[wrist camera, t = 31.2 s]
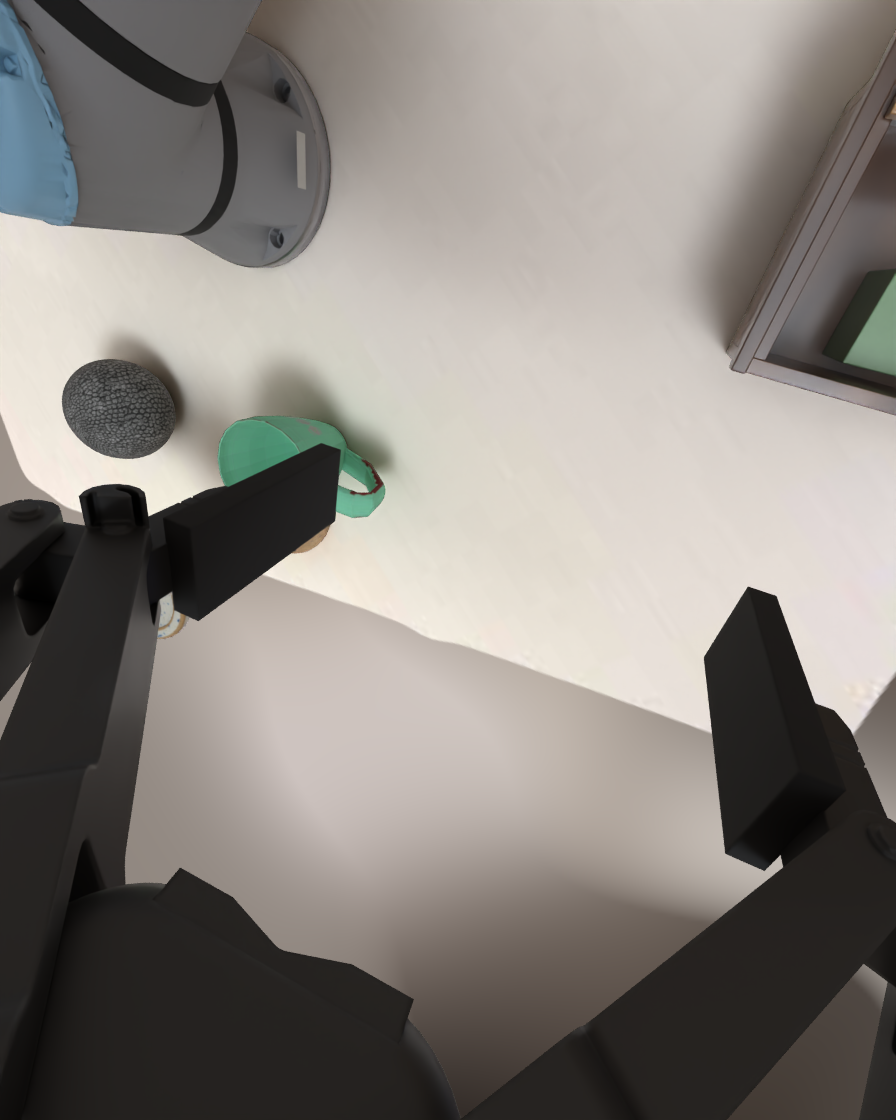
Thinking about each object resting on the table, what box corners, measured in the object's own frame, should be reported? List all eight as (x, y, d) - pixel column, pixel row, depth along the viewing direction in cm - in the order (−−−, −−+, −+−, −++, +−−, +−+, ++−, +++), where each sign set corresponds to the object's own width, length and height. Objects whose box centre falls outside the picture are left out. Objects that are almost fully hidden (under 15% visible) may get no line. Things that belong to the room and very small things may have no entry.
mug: (284, 474, 56) (218, 506, 48) (288, 384, 51) (215, 403, 43) (403, 520, 53) (355, 563, 45) (421, 430, 48) (370, 459, 40)
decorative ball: (111, 376, 59) (20, 391, 51) (160, 338, 54) (69, 347, 46) (160, 457, 62) (82, 483, 54) (211, 427, 57) (134, 450, 49)
